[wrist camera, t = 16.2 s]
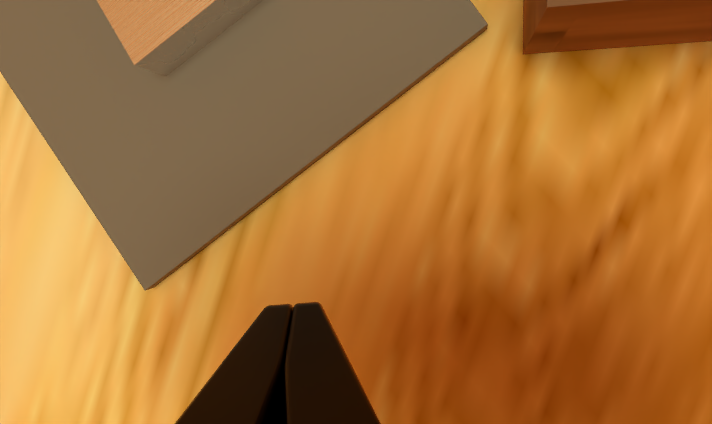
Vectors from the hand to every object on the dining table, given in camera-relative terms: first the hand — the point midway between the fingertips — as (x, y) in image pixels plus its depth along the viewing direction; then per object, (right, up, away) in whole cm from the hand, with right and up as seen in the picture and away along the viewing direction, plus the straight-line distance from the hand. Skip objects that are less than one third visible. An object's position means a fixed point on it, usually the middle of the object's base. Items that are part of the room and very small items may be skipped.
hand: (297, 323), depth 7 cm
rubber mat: (-6, +11, +13) cm, 18 cm away
